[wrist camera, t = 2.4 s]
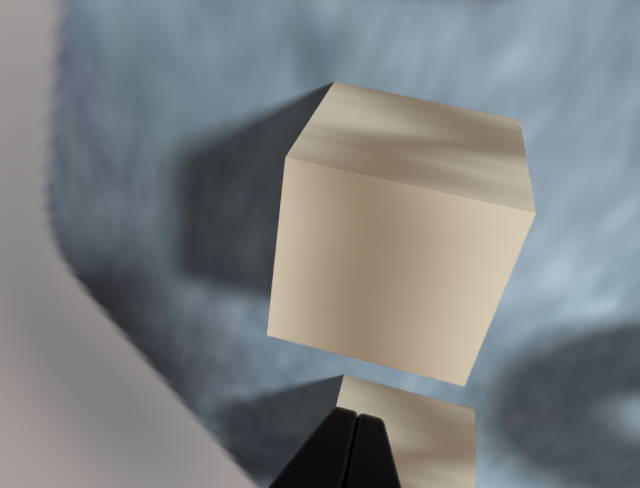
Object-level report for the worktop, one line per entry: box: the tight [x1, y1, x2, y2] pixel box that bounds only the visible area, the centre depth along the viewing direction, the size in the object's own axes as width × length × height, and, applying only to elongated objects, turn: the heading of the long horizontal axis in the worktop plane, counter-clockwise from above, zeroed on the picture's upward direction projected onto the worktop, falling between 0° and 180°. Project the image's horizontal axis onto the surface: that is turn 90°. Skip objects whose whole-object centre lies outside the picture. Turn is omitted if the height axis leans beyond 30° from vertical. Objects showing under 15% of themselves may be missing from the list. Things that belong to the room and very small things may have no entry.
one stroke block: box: [336, 375, 476, 488], centre depth 21 cm, size 5×5×5 cm
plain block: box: [267, 82, 536, 386], centre depth 15 cm, size 5×5×5 cm
